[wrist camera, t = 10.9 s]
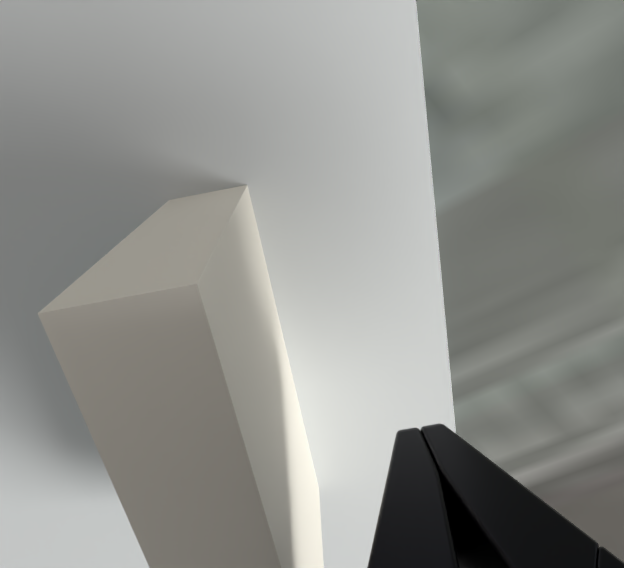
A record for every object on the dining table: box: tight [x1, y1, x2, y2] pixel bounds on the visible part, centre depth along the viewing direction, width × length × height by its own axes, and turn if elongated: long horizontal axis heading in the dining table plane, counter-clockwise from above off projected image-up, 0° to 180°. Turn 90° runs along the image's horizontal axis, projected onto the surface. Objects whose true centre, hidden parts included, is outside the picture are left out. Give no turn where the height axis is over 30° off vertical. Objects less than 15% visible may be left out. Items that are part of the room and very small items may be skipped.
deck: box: [38, 185, 324, 568], centre depth 10 cm, size 9×2×6 cm, turn 11°
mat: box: [0, 0, 456, 568], centre depth 13 cm, size 20×16×1 cm
